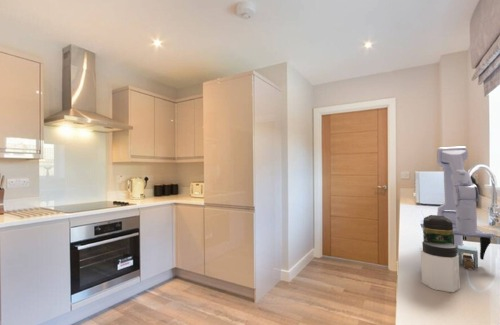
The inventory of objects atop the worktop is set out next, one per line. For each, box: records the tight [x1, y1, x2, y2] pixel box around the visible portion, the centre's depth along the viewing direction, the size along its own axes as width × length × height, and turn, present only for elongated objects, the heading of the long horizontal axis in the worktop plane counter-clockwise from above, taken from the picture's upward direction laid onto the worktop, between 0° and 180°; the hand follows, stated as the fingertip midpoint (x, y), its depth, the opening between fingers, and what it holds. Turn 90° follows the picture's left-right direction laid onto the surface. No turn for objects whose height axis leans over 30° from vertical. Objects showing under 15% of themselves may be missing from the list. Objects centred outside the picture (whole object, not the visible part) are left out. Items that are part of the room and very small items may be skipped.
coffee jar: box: [422, 214, 453, 244], centre depth 84 cm, size 10×8×19 cm
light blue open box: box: [457, 245, 479, 268], centre depth 93 cm, size 5×5×6 cm
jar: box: [420, 240, 461, 294], centre depth 75 cm, size 9×8×12 cm
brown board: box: [462, 253, 475, 270], centre depth 92 cm, size 12×2×3 cm, turn 143°
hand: (467, 256), depth 93 cm, fingers open, 7 cm apart
